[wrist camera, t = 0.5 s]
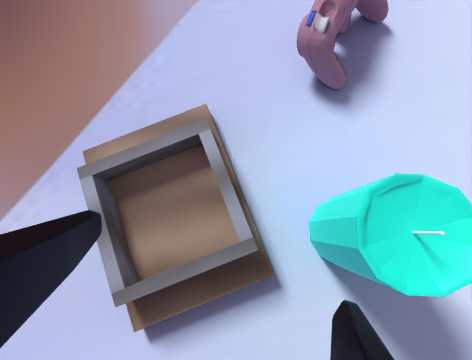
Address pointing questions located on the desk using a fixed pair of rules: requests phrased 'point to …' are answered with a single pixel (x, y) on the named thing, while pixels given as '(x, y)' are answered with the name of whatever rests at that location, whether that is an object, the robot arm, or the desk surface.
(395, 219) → the candle
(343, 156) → the desk surface
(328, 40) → the video game controller
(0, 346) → the robot arm
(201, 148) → the holder base
